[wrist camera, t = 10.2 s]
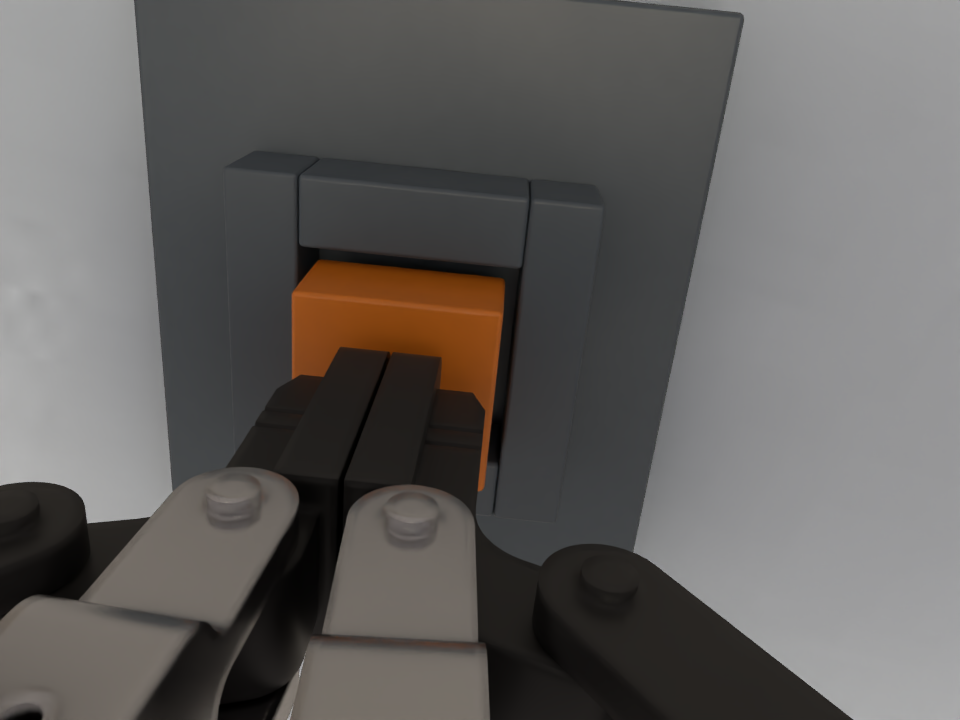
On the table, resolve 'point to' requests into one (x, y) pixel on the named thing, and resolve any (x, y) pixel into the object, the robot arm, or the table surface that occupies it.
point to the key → (403, 323)
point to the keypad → (441, 213)
